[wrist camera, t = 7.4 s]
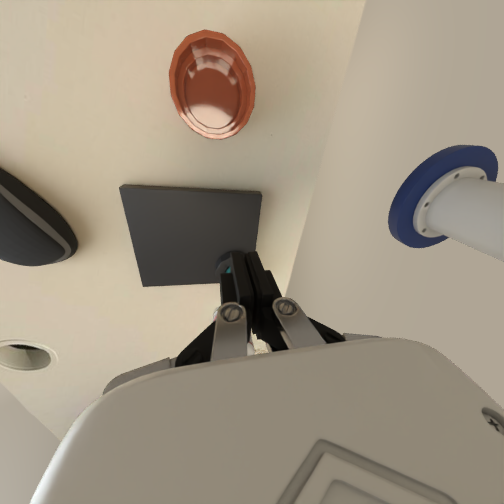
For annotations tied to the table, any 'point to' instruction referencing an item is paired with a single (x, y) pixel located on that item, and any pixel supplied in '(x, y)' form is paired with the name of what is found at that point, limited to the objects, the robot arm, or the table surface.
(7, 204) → the computer mouse
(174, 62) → the bowl
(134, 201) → the scale
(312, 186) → the table surface
